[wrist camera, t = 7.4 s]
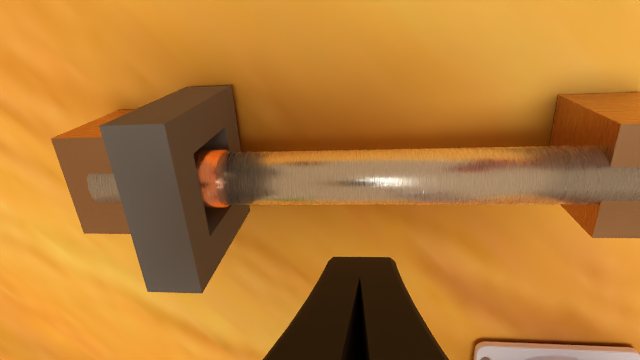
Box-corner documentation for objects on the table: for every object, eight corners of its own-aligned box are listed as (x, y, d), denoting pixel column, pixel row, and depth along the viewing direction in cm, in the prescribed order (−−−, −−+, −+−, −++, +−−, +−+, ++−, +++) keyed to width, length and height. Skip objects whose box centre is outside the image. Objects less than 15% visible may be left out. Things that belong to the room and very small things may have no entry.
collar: (231, 85, 17) (164, 123, 11) (249, 210, 19) (202, 293, 14) (186, 87, 17) (99, 125, 11) (210, 210, 19) (147, 291, 14)
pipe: (640, 91, 15) (741, 123, 11) (615, 185, 17) (696, 243, 13) (119, 109, 18) (44, 140, 14) (140, 188, 20) (79, 237, 16)
